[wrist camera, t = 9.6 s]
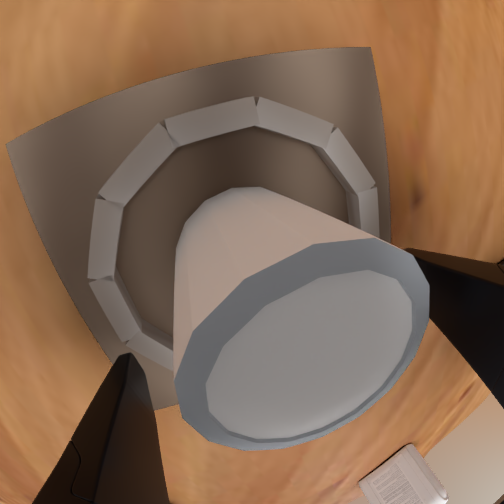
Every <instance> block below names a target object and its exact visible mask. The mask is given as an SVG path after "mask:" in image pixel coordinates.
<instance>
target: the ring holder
mask: <svg viewBox="0 0 504 504" xmlns="http://www.w3.org/2000/svg"><path fill="white" fill-rule="evenodd" d="M6 147H7V150H8V154H9V157H10V160H11V163H12V166H13V169H14V172H15V175H16V178H17V181H18V184H19V186H20V189H21V192H22V194H23V197H24V200H25V202H26V205H27V207H28V210H29V212H30V215H31V217H32V219H33V222H34V224H35V226H36V229H37V231H38V233H39V235H40V238H41V240H42V242H43V244H44V246H45V248H46V251H47V253H48V255H49V257H50V259H51V261H52V263H53V265H54V267H55V269H56V271H57V273H58V275H59V277H60V279H61V280H62V282H63V284H64V286H65V288H66V290H67V292H68V293H69V295H70V297H71V299H72V300H73V302H74V304H75V306H76V307H77V309H78V311H79V313H80V314H81V316H82V318H83V319H84V321H85V323H86V324H87V326H88V327H89V329H90V331H91V332H92V334H93V335H94V337H95V338H96V340H97V342H98V343H99V345H100V346H101V348H102V349H103V351H104V352H105V354H106V355H107V357H108V358H109V360H110V361H111V362H112V364H114V362H115V361H116V359H117V357H118V356H119V355H122V354H125V353H128V352H131V353H132V354H133V355H134V356H135V358H136V359H137V361H138V362H139V364H140V365H141V367H142V368H143V370H144V372H145V375H146V378H147V383H148V388H149V392H150V397H151V401H152V405H153V409H154V410H158V409H162V408H166V407H169V406H173V405H176V404H179V402H178V398H177V393H176V389H175V384H174V365H173V323H174V281H175V258H176V247H177V244H178V241H179V238H180V235H181V232H182V230H183V227H184V224H185V222H186V221H187V220H188V219H189V217H190V216H191V215H192V214H193V213H194V212H195V211H196V210H197V209H198V208H199V207H200V205H201V204H202V203H203V202H204V201H205V200H207V199H209V198H212V197H214V196H216V195H218V194H220V193H222V192H224V191H226V190H228V189H231V188H241V187H262V188H265V189H267V190H270V191H272V192H275V193H278V194H280V195H283V196H285V197H288V198H290V199H292V200H295V201H297V202H299V203H302V204H304V205H306V206H309V207H311V208H313V209H316V210H318V211H320V212H322V213H325V214H327V215H329V216H331V217H334V218H336V219H338V220H340V221H343V222H345V223H347V224H349V225H351V226H354V227H356V228H358V229H360V230H362V231H364V232H366V233H369V234H371V235H373V236H375V237H377V238H379V239H381V240H383V241H385V242H387V243H390V244H391V215H390V191H389V175H388V162H387V151H386V141H385V132H384V123H383V116H382V108H381V102H380V95H379V89H378V83H377V77H376V71H375V66H374V61H373V56H372V51H371V47H346V48H325V49H312V50H301V51H291V52H283V53H275V54H268V55H261V56H254V57H248V58H243V59H237V60H232V61H227V62H222V63H217V64H212V65H208V66H204V67H199V68H195V69H191V70H187V71H183V72H180V73H176V74H172V75H169V76H165V77H162V78H158V79H155V80H152V81H149V82H145V83H142V84H139V85H136V86H133V87H130V88H127V89H125V90H122V91H119V92H116V93H113V94H111V95H108V96H105V97H103V98H100V99H98V100H95V101H93V102H90V103H88V104H86V105H83V106H81V107H78V108H76V109H74V110H72V111H69V112H67V113H65V114H63V115H61V116H58V117H56V118H54V119H52V120H50V121H48V122H46V123H44V124H42V125H40V126H38V127H36V128H34V129H32V130H30V131H28V132H27V133H25V134H23V135H21V136H19V137H17V138H16V139H14V140H12V141H10V142H9V143H7V144H6Z"/></svg>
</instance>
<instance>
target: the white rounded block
mask: <svg viewBox="0 0 504 504" xmlns="http://www.w3.org/2000/svg"><path fill="white" fill-rule="evenodd" d="M359 486H360V488H361V490H362V491H363V493H364V495H365V496H366V498H367V500H368V501H369V503H370V504H446V502H447V501H448V499H449V497H448V494H447V492H446V490H445V488H444V486H443V485H442V484H441V482H440V481H439V480H438V478H437V477H436V475H435V474H434V473H433V471H432V470H431V468H430V467H429V466H428V464H427V463H426V462H425V460H424V459H423V457H422V456H421V455H420V453H419V452H418V451H417V449H416V448H415V446H414V445H413V444H408V445H406V446H404V447H403V448H402V449H401V450H400V451H399V452H397V453H396V454H395V455H394V456H393V457H391V458H390V459H389V460H388V461H386V462H385V463H384V464H382V465H381V466H380V467H379V468H377V469H376V470H375V471H373V472H372V473H371V474H369V475H368V476H366V477H365V478H363V479H362V480H360V481H359Z"/></svg>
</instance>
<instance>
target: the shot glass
mask: <svg viewBox="0 0 504 504" xmlns="http://www.w3.org/2000/svg"><path fill="white" fill-rule="evenodd" d="M428 322H429V283H428V282H427V280H426V278H425V276H424V274H423V272H422V270H421V269H420V267H419V265H418V263H417V262H416V260H415V258H414V256H413V255H412V254H410V253H408V252H406V251H404V250H402V249H400V248H398V247H396V246H394V245H392V244H390V243H387V242H385V241H383V240H381V239H379V238H377V237H375V236H373V235H371V234H369V233H366V232H364V231H362V230H360V229H358V228H356V227H354V226H351V225H349V224H347V223H345V222H343V221H340V220H338V219H336V218H334V217H331V216H329V215H327V214H325V213H322V212H320V211H318V210H316V209H313V208H311V207H309V206H306V205H304V204H302V203H299V202H297V201H295V200H292V199H290V198H288V197H285V196H283V195H280V194H278V193H275V192H272V191H270V190H267V189H265V188H262V187H241V188H231V189H228V190H226V191H224V192H222V193H220V194H218V195H216V196H214V197H212V198H209V199H207V200H205V201H204V202H203V203H202V204H201V205H200V207H199V208H198V209H197V210H196V211H195V212H194V213H193V214H192V215H191V216H190V217H189V219H188V220H187V221H186V222H185V224H184V227H183V230H182V232H181V235H180V238H179V241H178V244H177V247H176V258H175V281H174V323H173V365H174V384H175V389H176V393H177V398H178V402H179V406H180V410H181V414H182V418H183V419H184V420H185V421H186V422H187V423H188V424H189V425H191V426H192V427H193V428H194V429H195V430H196V431H197V432H199V433H200V434H201V435H202V436H203V437H204V438H206V439H207V440H208V441H210V442H214V443H217V444H221V445H224V446H228V447H232V448H236V449H240V450H244V451H246V450H270V449H284V448H287V447H291V446H294V445H298V444H301V443H304V442H308V441H311V440H314V439H317V438H320V437H323V436H325V435H327V434H329V433H331V432H332V431H334V430H336V429H338V428H340V427H342V426H343V425H345V424H347V423H349V422H350V421H352V420H354V419H356V418H357V417H359V416H360V415H362V414H363V413H364V412H365V411H366V410H368V409H369V408H370V407H371V406H372V405H373V404H375V403H376V402H377V401H378V400H379V399H380V398H381V397H383V396H384V395H385V394H386V393H387V392H388V391H389V390H390V389H391V388H392V387H393V386H394V384H395V383H396V382H397V380H398V379H399V378H400V376H401V375H402V374H403V372H404V371H405V370H406V368H407V367H408V365H409V364H410V363H411V361H412V360H413V358H414V357H415V355H416V353H417V350H418V348H419V345H420V343H421V340H422V338H423V335H424V332H425V330H426V327H427V324H428Z"/></svg>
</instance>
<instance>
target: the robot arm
mask: <svg viewBox="0 0 504 504" xmlns="http://www.w3.org/2000/svg"><path fill="white" fill-rule="evenodd" d="M404 251H406V252H408V253H410V254H412V255H413V256H414V258H415V260H416V262H417V263H418V265H419V267H420V269H421V270H422V272H423V274H424V276H425V278H426V280H427V282H428V283H429V318H430V319H431V320H432V321H433V322H434V323H435V325H436V326H437V327H438V328H439V329H440V330H441V331H442V333H443V334H444V335H445V336H446V337H447V338H448V340H449V341H450V342H451V343H452V344H453V345H454V347H455V348H456V349H457V350H458V351H459V352H460V354H461V355H462V356H463V357H464V358H465V360H466V361H467V362H468V363H469V365H470V366H471V367H472V368H473V370H474V371H475V372H476V373H477V374H478V376H479V377H480V378H481V380H482V381H483V382H484V383H485V385H486V386H487V387H488V388H489V390H490V391H491V393H492V394H493V395H494V396H495V398H496V399H497V400H498V402H499V403H500V404H501V406H502V407H503V409H504V260H503V261H502V262H501V263H499V264H497V265H496V264H494V263H488V262H483V261H478V260H473V259H468V258H462V257H457V256H451V255H446V254H440V253H435V252H429V251H424V250H418V249H412V248H406V249H404ZM71 440H72V441H71ZM71 440H70V441H69V443H68V445H67V447H66V449H65V450H64V452H63V454H62V456H61V458H60V459H59V461H58V463H57V465H56V466H55V468H54V469H53V471H52V473H51V474H50V476H49V477H48V479H47V481H46V482H45V484H44V485H43V487H42V488H41V490H40V492H39V493H38V495H37V496H36V498H35V500H34V501H33V503H32V504H170V502H169V498H168V493H167V487H166V482H165V476H164V471H163V465H162V459H161V452H160V446H159V439H158V432H157V424H156V418H155V413H154V409H153V405H152V401H151V397H150V392H149V388H148V383H147V378H146V375H145V372H144V370H143V368H142V367H141V365H140V364H139V362H138V361H137V359H136V358H135V356H134V355H133V354H132V353H131V352H128V353H125V354H122V355H119V356H118V357H117V359H116V361H115V362H114V364H113V366H112V367H111V369H110V371H109V372H108V374H107V376H106V378H105V379H104V381H103V383H102V384H101V386H100V388H99V389H98V391H97V393H96V395H95V396H94V398H93V400H92V402H91V403H90V405H89V407H88V409H87V410H86V412H85V414H84V416H83V418H82V419H81V421H80V423H79V425H78V427H77V428H76V430H75V432H74V434H73V436H72V438H71ZM494 504H504V494H503V495H502V496H501V497H500V498H499V499H498V500H497V501H496V502H495V503H494Z"/></svg>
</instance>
